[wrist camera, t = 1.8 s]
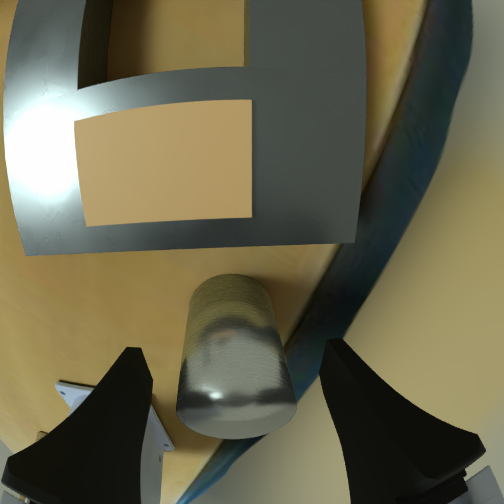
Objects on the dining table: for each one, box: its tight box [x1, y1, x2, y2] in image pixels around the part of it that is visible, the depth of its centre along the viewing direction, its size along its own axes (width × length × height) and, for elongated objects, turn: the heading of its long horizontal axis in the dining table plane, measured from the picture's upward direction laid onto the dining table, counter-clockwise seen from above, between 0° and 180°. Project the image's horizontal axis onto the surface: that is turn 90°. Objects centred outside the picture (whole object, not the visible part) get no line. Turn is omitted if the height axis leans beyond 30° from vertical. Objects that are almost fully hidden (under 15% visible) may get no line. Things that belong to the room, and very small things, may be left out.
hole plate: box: [3, 0, 367, 256], centre depth 7 cm, size 13×13×3 cm
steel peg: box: [176, 274, 297, 439], centre depth 11 cm, size 4×4×6 cm
